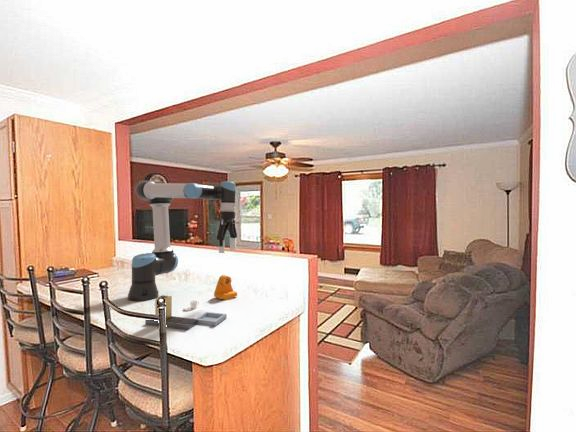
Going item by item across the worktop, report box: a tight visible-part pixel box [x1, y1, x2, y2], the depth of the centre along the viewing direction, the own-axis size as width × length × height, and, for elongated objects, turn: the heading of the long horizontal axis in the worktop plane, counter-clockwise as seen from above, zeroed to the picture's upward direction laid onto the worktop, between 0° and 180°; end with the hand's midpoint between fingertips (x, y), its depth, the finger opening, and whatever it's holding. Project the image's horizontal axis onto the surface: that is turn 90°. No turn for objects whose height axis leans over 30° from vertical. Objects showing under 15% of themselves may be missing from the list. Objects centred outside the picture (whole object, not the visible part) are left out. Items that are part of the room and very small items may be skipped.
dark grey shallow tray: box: [144, 315, 199, 331], centre depth 125 cm, size 20×7×2 cm, turn 75°
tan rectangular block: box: [154, 294, 173, 321], centre depth 126 cm, size 4×4×11 cm
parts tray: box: [194, 311, 227, 327], centre depth 131 cm, size 10×10×2 cm
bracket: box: [213, 274, 238, 301], centre depth 167 cm, size 11×7×12 cm, turn 131°
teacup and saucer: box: [183, 300, 203, 312], centre depth 147 cm, size 9×8×4 cm
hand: (227, 251), depth 159 cm, fingers open, 13 cm apart
